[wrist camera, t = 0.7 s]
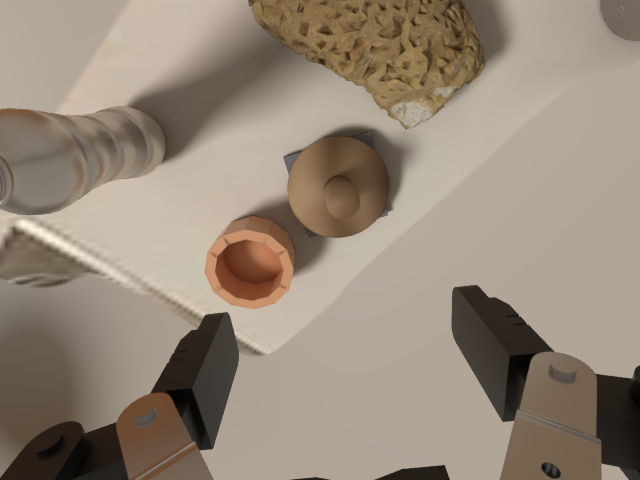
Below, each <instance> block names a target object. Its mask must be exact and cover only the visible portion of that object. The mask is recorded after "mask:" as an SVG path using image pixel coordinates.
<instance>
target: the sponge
mask: <svg viewBox="0 0 640 480" xmlns="http://www.w3.org/2000/svg"><path fill="white" fill-rule="evenodd" d="M249 6H252V11H253V14H254V17H255V19H256V22H258V23H259V24H260V25H261V26H262V27H263V28H264V29H265V30H266V31H267V32H268V33H269V34H270V35H271V36H273V37H275V38H279V39H281V41H282V43H283V45H286V46H288V47H289V48H291V49H292V50H294V51H295V52H297V53H299V54H302V53H306V58H307V59H308V60H309V61H311V62H315V63H319V64H322V65H325V67H327V68H329V69H330V70H332V71H334V72H335V73H336V74H338V75H339V76H340V77H344V78H345V79H346V81H352V82H354V83H355V84H356V85H360V86H364V87H365V89H366V91H367V92H369V93H371V95H372V97H373V99H374V101H375V102H376V103H377V105H378V106H379V107H380V108H381V109H386V110H387V111H388V116H390V117H391V118H393V119H396V120H398V121H399V122H400V123H401V124H402V126H403V127H404V128H405V129H409V128H412V127H415V126H417V125H418V124H420V123H421V122H425V121H427V120H428V119H430V118H431V117H433V116H434V115H435V114H436V113H437V112H438V111H439V110H440V109H441V108H442V107H443V106H444V104H445V103H446V102H447V101H448V100H449V99H450V98H451V97H452V95H453V93H454V91H456V90H457V89H458V88H461V87H462V86H463V85H464V84H465V83H468V84H469V83H470V82H471V81H473V80H474V79H475V78H476V77H478V76H479V75H480V73H481V72H482V70H483V69H484V66H485V62H486V60H484V59H483V58H484V48H483V47H482V45H481V44H480V41H479V37H478V34H477V31H476V29H475V27H474V24H473V22H472V19H471V17H470V15H469V14H468V12H467V10H466V8H465V6H464V4H463V2H462V1H461V0H249Z"/></svg>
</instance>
